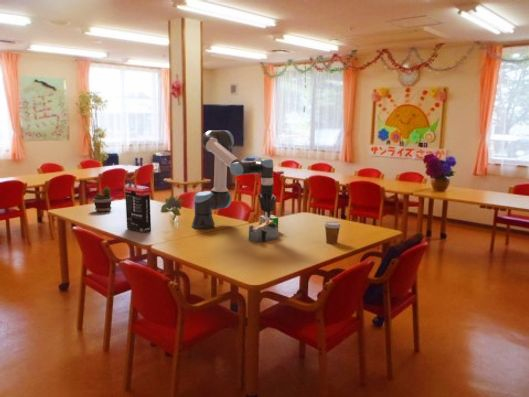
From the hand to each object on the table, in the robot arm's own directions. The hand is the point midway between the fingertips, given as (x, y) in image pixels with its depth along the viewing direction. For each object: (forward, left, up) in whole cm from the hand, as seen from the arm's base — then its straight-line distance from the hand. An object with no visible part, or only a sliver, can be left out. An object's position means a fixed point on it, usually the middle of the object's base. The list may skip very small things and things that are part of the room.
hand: (267, 222), depth 280 cm
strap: (0, -3, -2) cm, 4 cm away
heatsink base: (0, -3, -10) cm, 10 cm away
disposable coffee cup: (+37, +17, -10) cm, 41 cm away
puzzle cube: (-8, +13, -10) cm, 18 cm away
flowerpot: (-144, -21, -10) cm, 146 cm away
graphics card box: (-74, -40, -10) cm, 85 cm away
